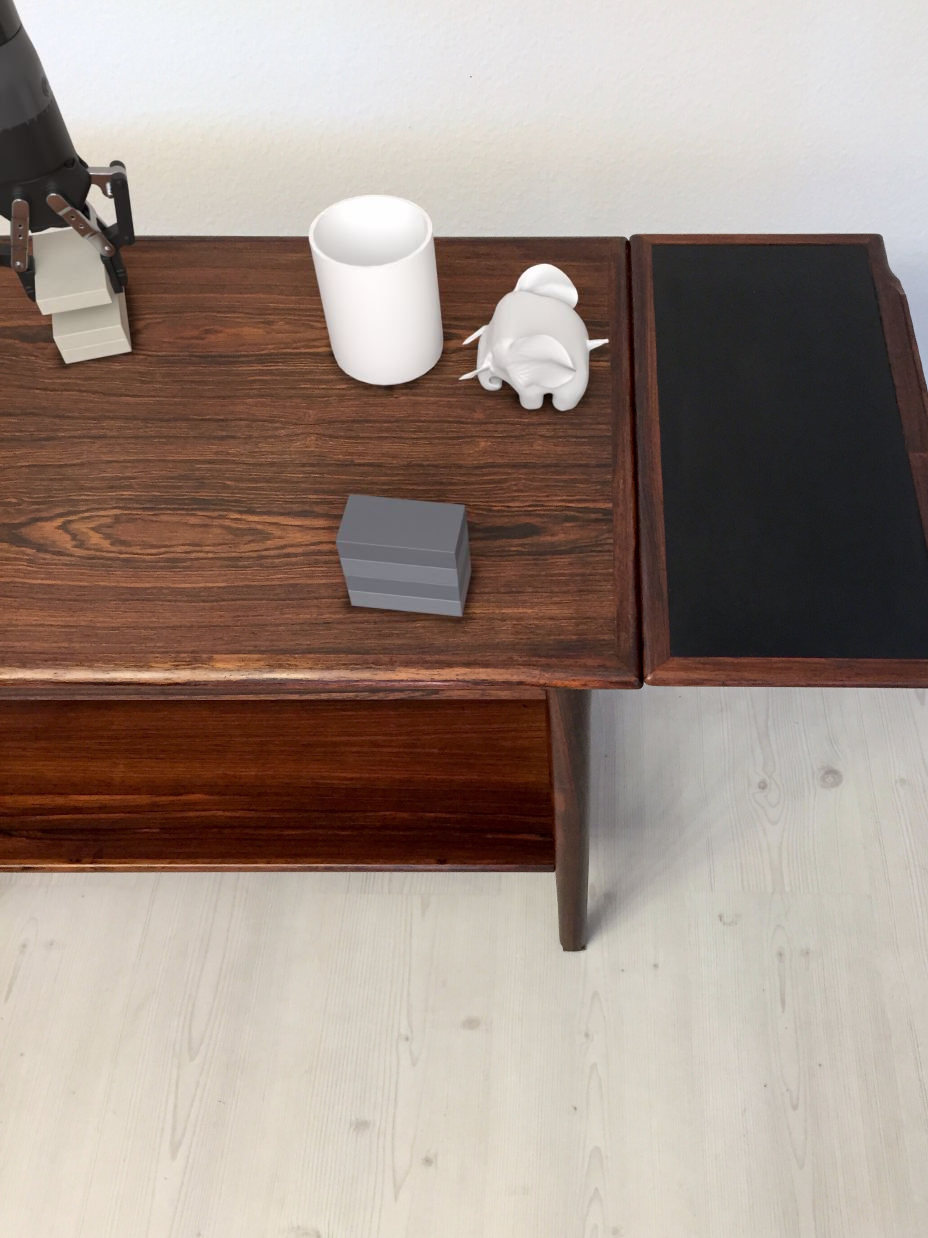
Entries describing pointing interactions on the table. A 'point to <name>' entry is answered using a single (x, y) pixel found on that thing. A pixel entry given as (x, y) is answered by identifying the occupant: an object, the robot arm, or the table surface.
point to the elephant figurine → (536, 341)
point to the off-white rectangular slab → (68, 273)
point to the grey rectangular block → (405, 554)
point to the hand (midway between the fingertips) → (82, 293)
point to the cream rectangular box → (93, 330)
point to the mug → (379, 287)
